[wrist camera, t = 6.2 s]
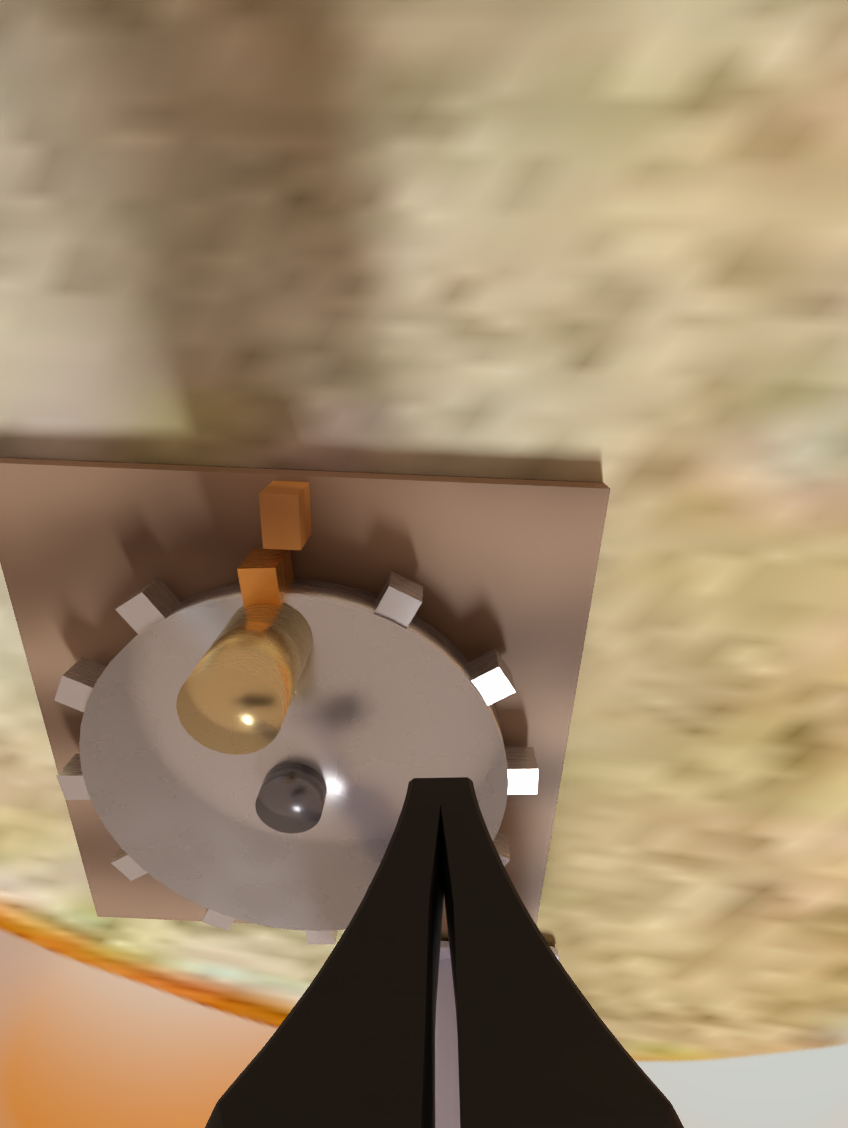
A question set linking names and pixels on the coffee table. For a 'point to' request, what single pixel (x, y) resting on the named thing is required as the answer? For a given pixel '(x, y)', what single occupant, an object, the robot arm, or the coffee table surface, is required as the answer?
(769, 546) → the coffee table surface
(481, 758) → the sprocket wheel
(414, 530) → the walnut board
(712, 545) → the coffee table surface
